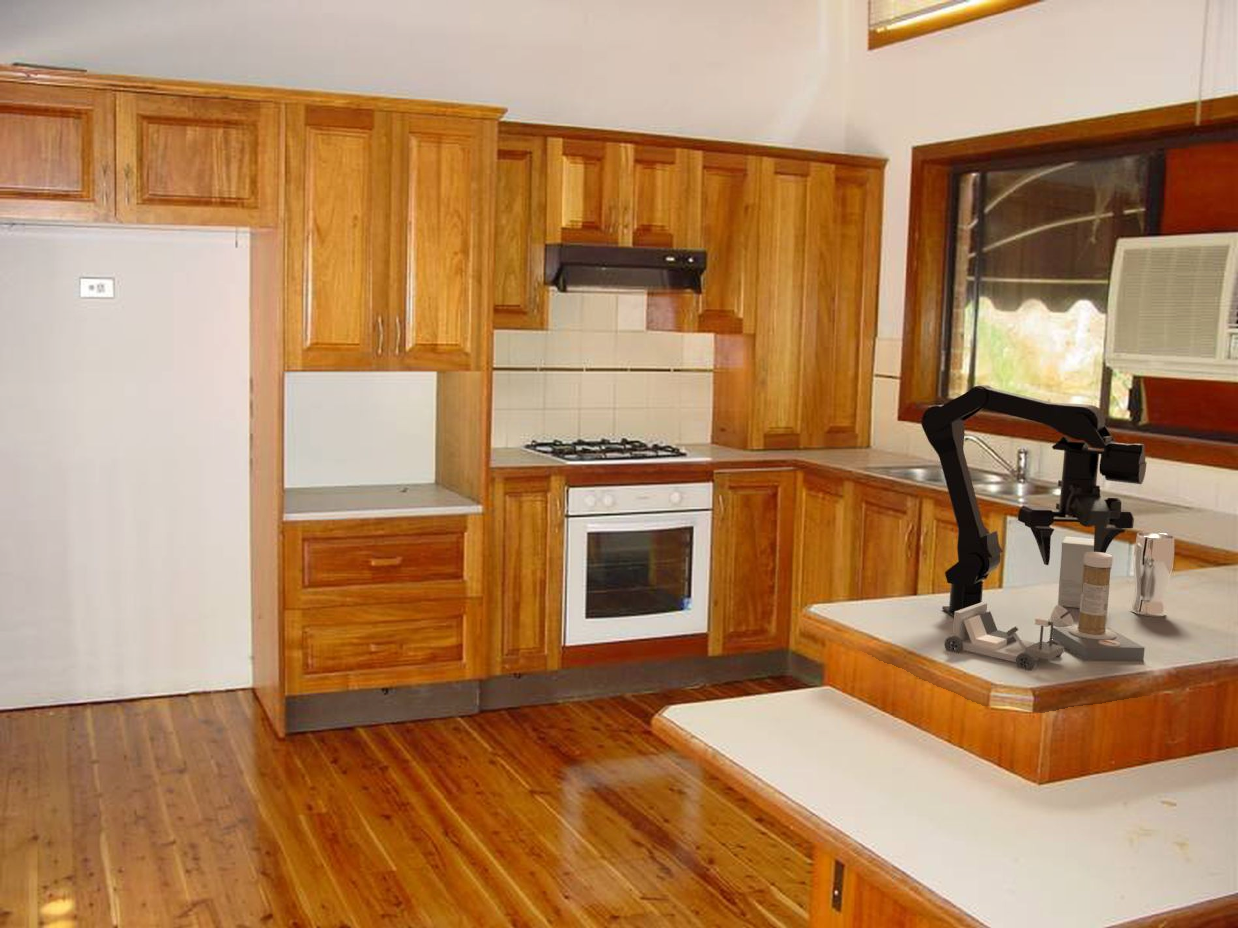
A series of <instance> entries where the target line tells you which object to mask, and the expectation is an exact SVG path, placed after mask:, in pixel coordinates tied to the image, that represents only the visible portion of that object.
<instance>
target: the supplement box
mask: <svg viewBox="0 0 1238 928" xmlns="http://www.w3.org/2000/svg"><path fill="white" fill-rule="evenodd" d="M1086 552H1094V538H1086V537H1078V536H1077V537H1076V536H1065V537H1064V539H1063V540H1062V541H1061V552H1060V568H1059V569H1060V570H1059V579H1058V581H1059V582H1058V595H1057V596H1058V599H1057V605H1060V606H1062V607H1065V608H1066V607H1067V608H1076V609H1080V599H1081V592H1082V582H1083V572H1084V564H1083V559H1084V554H1085V553H1086Z"/></svg>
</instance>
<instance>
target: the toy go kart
mask: <svg viewBox="0 0 1238 928" xmlns="http://www.w3.org/2000/svg"><path fill="white" fill-rule="evenodd" d="M987 610H988V603H987V602H983V601H982V602H981V603H978V604H975V605H972V606H969V607H967V608H964V609H961V610H958V611H955V612H954V617H953V624H952V635H951V636H948V637H947V638H946V639H945V640H944V646H943V647H944V649H945V650H946V651H947V652H950V653H955V654H959V653H962V651H963V650H964V651H967V652H970V653H975V654H979V655H985V656H988V657H993V658H997V659H1001V660H1006V661H1010V662H1014V663H1015V664H1016V668H1018V669H1021V670H1027V671H1032V670H1034V669H1035V667H1036V661H1039V660H1040V659H1044V660H1052V659H1053V658H1059V657H1061V656H1062V655H1063V653H1064V652H1065V647H1064V646H1062V645H1061V644H1060V643H1059V642H1058V641H1056V640H1052V638H1053V627H1056V628H1069V627H1072V626H1073V625H1074V623H1075V622H1074V619H1073V617H1072V615H1071V614H1070V613H1072V609H1068V610H1067V609H1066V607H1064V606H1060V605H1058V604H1056V605H1055V606H1054V607H1053V610H1052V612H1051V614H1050V619H1048V618H1043V617H1038V616H1037V617H1035V619H1034V625H1037V626H1040V630H1039V631H1040V634H1039V641H1038V642H1033V641H1028V640H1023V639H1021V638H1020V636H1018V634H1017V632H1018V631H1019V628H1018V627H1017V626H1014V627H1012V628H1011V629H1008V631H1007V632H1006V631H1003V630H1002V631H1001V630H998V627H997V624H996V623H995V620H994V617H993V614H992V613H991V610H989V611H987ZM1044 627H1046V628H1048V627H1050V630H1049V632H1050V633H1049V640H1048V641H1046V642H1044V641H1043V637H1044V636H1043V635H1044Z"/></svg>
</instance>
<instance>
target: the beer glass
mask: <svg viewBox="0 0 1238 928" xmlns="http://www.w3.org/2000/svg"><path fill="white" fill-rule="evenodd" d="M1174 560H1175V536H1174V535H1172V534H1167V533H1163V532H1156V531H1139V532H1136V539H1135V544H1134V552H1133V562H1132V563H1133V576H1134V586H1135V587H1134V598H1133V602H1132V605H1131V608H1130V611H1131V612H1132V613H1133V612H1134V614H1135V615H1136V614H1137V615H1139V614H1140V616H1145V617H1152V618H1153V617H1155V618H1157V617H1158V618H1159V617H1165V616H1166V614H1167V611H1166V592H1167V588H1168V585H1169V582H1170V579H1171V574H1172V571H1173V567H1174Z"/></svg>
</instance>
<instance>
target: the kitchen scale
mask: <svg viewBox="0 0 1238 928" xmlns="http://www.w3.org/2000/svg"><path fill="white" fill-rule="evenodd" d="M1105 629H1106V632H1105V633H1103V634H1089V633H1085V632H1082V631H1080V630H1078V625H1074V626H1073V625H1072V626H1069V627H1055V626H1053V637H1052V639H1053V640H1056V641H1058V642H1059V643H1060V644H1061V645H1062V646H1064V649H1066V648H1067V649H1066V650H1068V649H1069V650H1070V651H1069V650H1068V651H1069V652H1071V651H1072V652H1071V653H1073V654H1074V653H1075V655H1076V656H1077V655H1078V656H1077V657H1078V658H1081V659H1082V660H1083V661H1108V662H1109V661H1115V662H1116V661H1121V662H1122V661H1125V662H1126V661H1129V662H1130V661H1132V662H1133V661H1134V662H1135V661H1137V662H1138V661H1139V662H1141V661H1144V658H1145V649H1146V647H1144V646H1143V645H1141V644H1139V643H1137V642H1135V641H1133V640H1132V639H1130V638H1128V637H1126V636H1124V635H1123V634H1121V633H1119V632H1117V631H1115V630H1114V629H1111V628H1109V627H1105Z"/></svg>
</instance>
